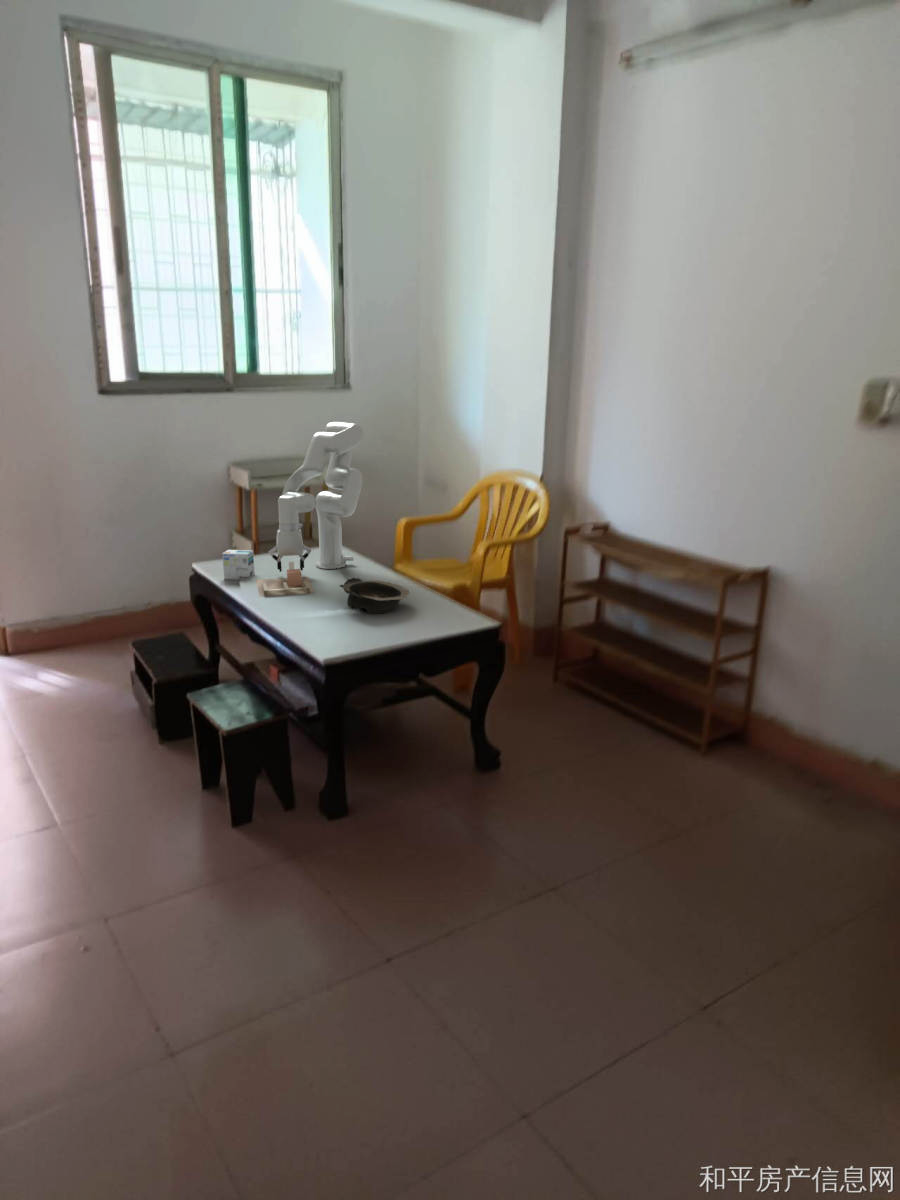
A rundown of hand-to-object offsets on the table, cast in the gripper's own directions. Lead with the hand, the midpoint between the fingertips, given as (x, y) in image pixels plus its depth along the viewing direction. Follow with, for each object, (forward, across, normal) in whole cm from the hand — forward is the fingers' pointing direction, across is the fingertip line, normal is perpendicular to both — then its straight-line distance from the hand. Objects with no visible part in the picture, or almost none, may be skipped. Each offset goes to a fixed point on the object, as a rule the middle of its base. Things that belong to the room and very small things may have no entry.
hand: (290, 570), depth 328 cm
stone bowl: (+4, -26, +42) cm, 50 cm away
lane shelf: (+4, +4, +14) cm, 15 cm away
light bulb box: (+4, +20, -7) cm, 21 cm away
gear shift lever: (+2, 0, +8) cm, 8 cm away
